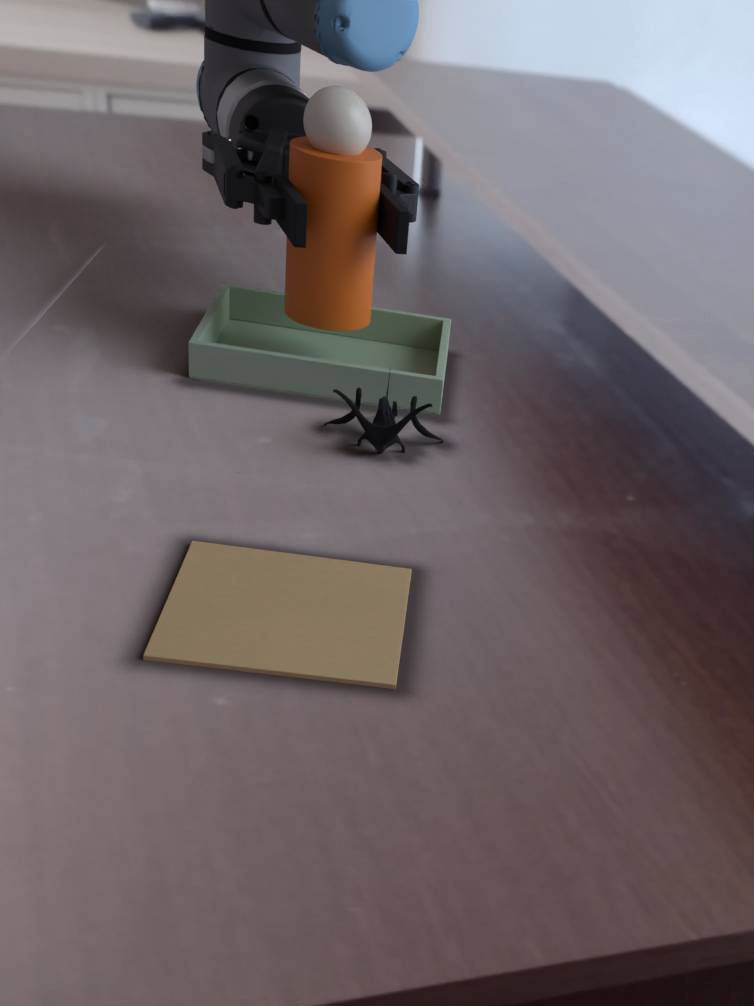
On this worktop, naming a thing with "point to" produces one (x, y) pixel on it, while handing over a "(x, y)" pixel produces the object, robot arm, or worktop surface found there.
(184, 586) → the mat
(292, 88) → the robot arm
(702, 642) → the worktop surface
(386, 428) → the creature
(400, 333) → the tray
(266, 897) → the worktop surface
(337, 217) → the skittle
